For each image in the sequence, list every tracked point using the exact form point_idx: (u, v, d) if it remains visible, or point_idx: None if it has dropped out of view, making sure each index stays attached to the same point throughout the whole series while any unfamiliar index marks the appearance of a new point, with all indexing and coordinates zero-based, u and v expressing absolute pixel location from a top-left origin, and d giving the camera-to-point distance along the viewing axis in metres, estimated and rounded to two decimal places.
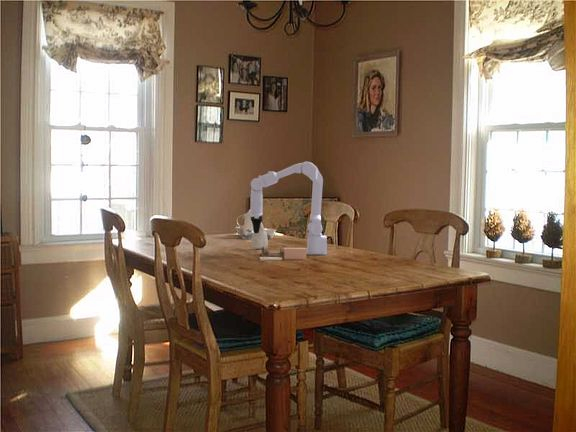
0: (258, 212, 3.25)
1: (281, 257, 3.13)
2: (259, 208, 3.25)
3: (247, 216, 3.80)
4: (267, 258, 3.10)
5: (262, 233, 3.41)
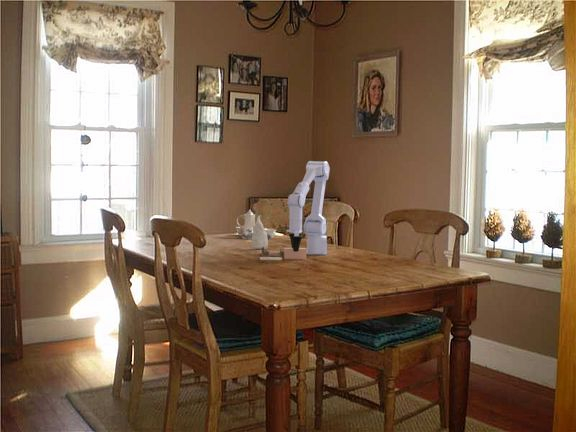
0: (298, 229, 3.11)
1: (281, 257, 3.13)
2: (299, 225, 3.11)
3: (247, 216, 3.81)
4: (267, 258, 3.10)
5: (262, 233, 3.41)
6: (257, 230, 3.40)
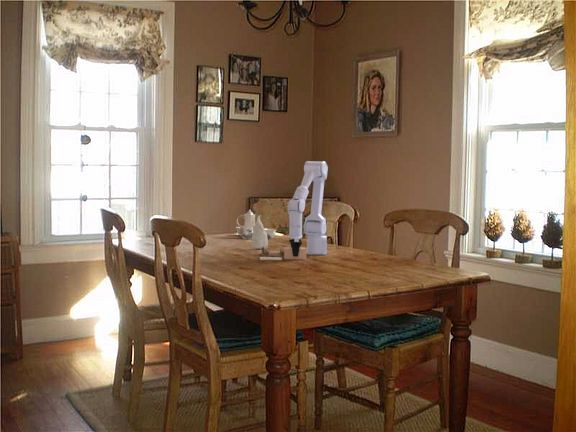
0: (297, 235, 3.11)
1: (281, 257, 3.13)
2: (299, 231, 3.11)
3: (247, 216, 3.81)
4: (267, 258, 3.11)
5: (262, 233, 3.41)
6: (257, 230, 3.40)
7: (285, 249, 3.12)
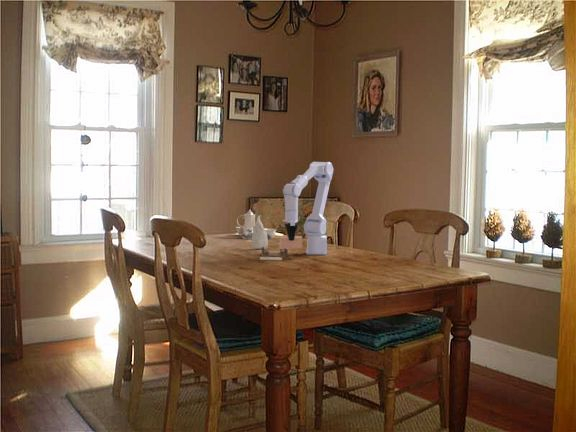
0: (293, 219, 3.12)
1: (281, 257, 3.13)
2: (294, 215, 3.12)
3: (247, 216, 3.81)
4: (267, 258, 3.11)
5: (262, 233, 3.41)
6: (257, 230, 3.40)
7: (281, 238, 3.13)
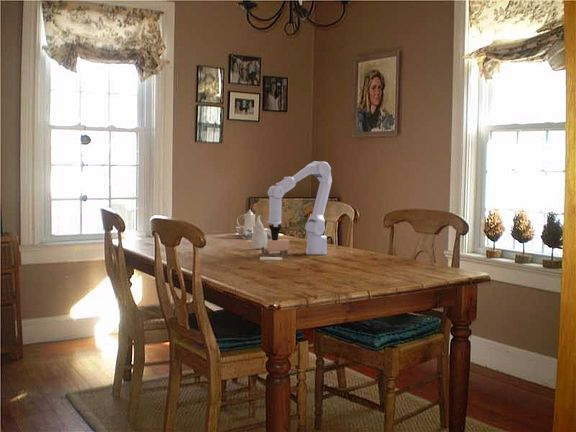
0: (277, 220, 3.18)
1: (281, 257, 3.13)
2: (278, 216, 3.18)
3: (247, 216, 3.81)
4: (267, 258, 3.11)
5: (262, 233, 3.41)
6: (257, 230, 3.40)
7: (268, 241, 3.19)
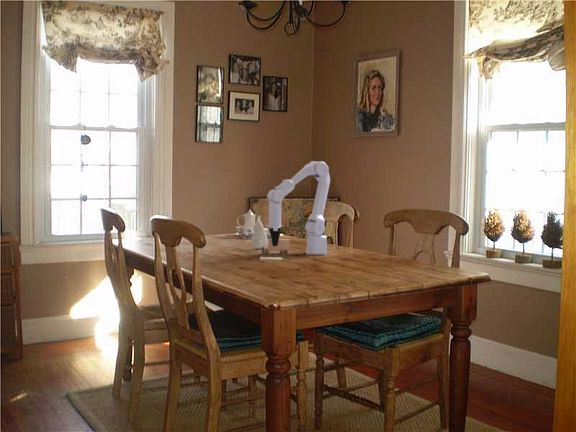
0: (277, 224, 3.18)
1: (281, 257, 3.13)
2: (278, 220, 3.18)
3: (247, 216, 3.81)
4: (266, 258, 3.11)
5: (262, 233, 3.41)
6: (257, 230, 3.40)
7: (269, 241, 3.20)
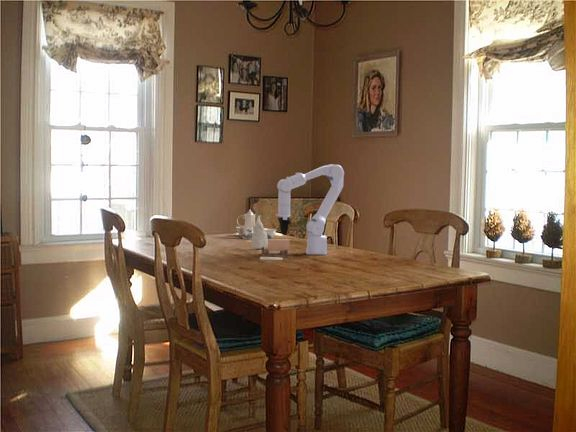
0: (286, 213, 3.23)
1: None
2: (287, 209, 3.23)
3: (247, 216, 3.81)
4: (266, 258, 3.11)
5: (262, 233, 3.41)
6: (257, 230, 3.40)
7: (269, 241, 3.20)
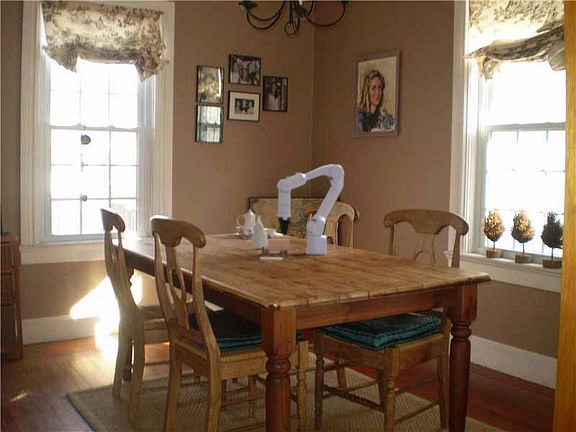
0: (286, 213, 3.23)
1: (281, 257, 3.13)
2: (287, 209, 3.23)
3: (247, 216, 3.81)
4: (266, 258, 3.11)
5: (262, 233, 3.41)
6: (257, 230, 3.40)
7: (269, 241, 3.20)
